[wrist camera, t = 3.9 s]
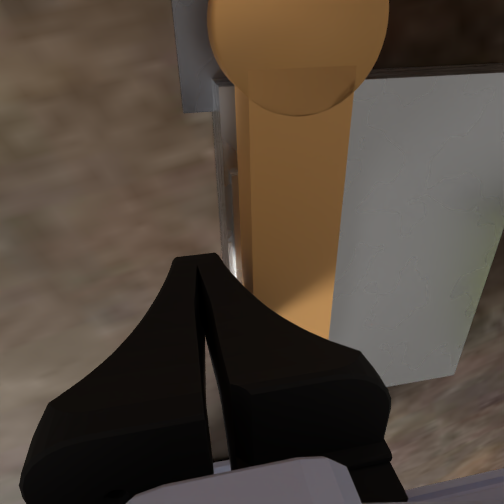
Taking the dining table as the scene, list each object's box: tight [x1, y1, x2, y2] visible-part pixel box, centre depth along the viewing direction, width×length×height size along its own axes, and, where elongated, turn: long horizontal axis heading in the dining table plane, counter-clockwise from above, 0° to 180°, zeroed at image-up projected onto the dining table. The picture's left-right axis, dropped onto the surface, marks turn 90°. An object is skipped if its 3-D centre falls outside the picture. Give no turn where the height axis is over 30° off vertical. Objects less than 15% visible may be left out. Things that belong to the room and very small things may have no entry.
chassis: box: [212, 63, 504, 387], centre depth 16 cm, size 14×11×3 cm
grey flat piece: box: [171, 0, 227, 113], centre depth 11 cm, size 5×5×3 cm
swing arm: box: [207, 0, 389, 340], centre depth 12 cm, size 16×4×2 cm, turn 1°
